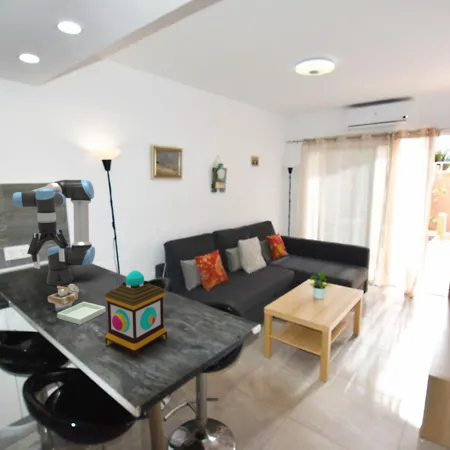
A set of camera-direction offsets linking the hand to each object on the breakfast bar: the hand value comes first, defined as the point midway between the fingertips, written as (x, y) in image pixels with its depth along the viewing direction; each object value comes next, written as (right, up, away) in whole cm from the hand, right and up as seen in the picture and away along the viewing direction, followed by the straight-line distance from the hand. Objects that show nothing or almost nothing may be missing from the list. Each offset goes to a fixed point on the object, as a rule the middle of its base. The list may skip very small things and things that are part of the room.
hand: (50, 264), depth 144 cm
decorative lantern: (+50, -28, -25) cm, 62 cm away
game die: (+1, -21, +20) cm, 29 cm away
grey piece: (+4, -23, +5) cm, 24 cm away
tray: (+16, -24, -1) cm, 29 cm away
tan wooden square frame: (+4, -19, +4) cm, 19 cm away
